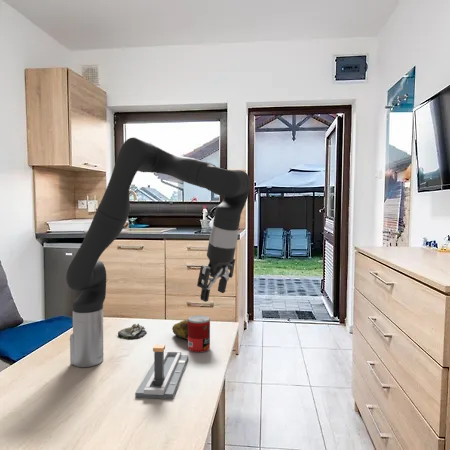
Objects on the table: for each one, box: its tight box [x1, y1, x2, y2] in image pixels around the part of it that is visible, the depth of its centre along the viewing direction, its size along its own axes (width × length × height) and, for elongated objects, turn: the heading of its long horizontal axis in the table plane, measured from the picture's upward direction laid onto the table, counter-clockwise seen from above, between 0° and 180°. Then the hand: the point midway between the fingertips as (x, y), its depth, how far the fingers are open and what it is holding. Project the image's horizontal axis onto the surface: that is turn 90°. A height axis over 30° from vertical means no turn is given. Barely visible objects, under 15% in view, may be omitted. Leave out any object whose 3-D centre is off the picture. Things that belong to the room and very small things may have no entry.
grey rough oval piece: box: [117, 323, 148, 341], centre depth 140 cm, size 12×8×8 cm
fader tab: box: [152, 344, 166, 385], centre depth 98 cm, size 3×3×10 cm
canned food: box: [187, 314, 211, 353], centre depth 126 cm, size 8×8×11 cm
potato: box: [171, 319, 188, 340], centre depth 135 cm, size 8×13×8 cm, turn 15°
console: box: [134, 349, 189, 399], centre depth 105 cm, size 10×26×2 cm, turn 177°
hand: (212, 296), depth 100 cm, fingers open, 8 cm apart
